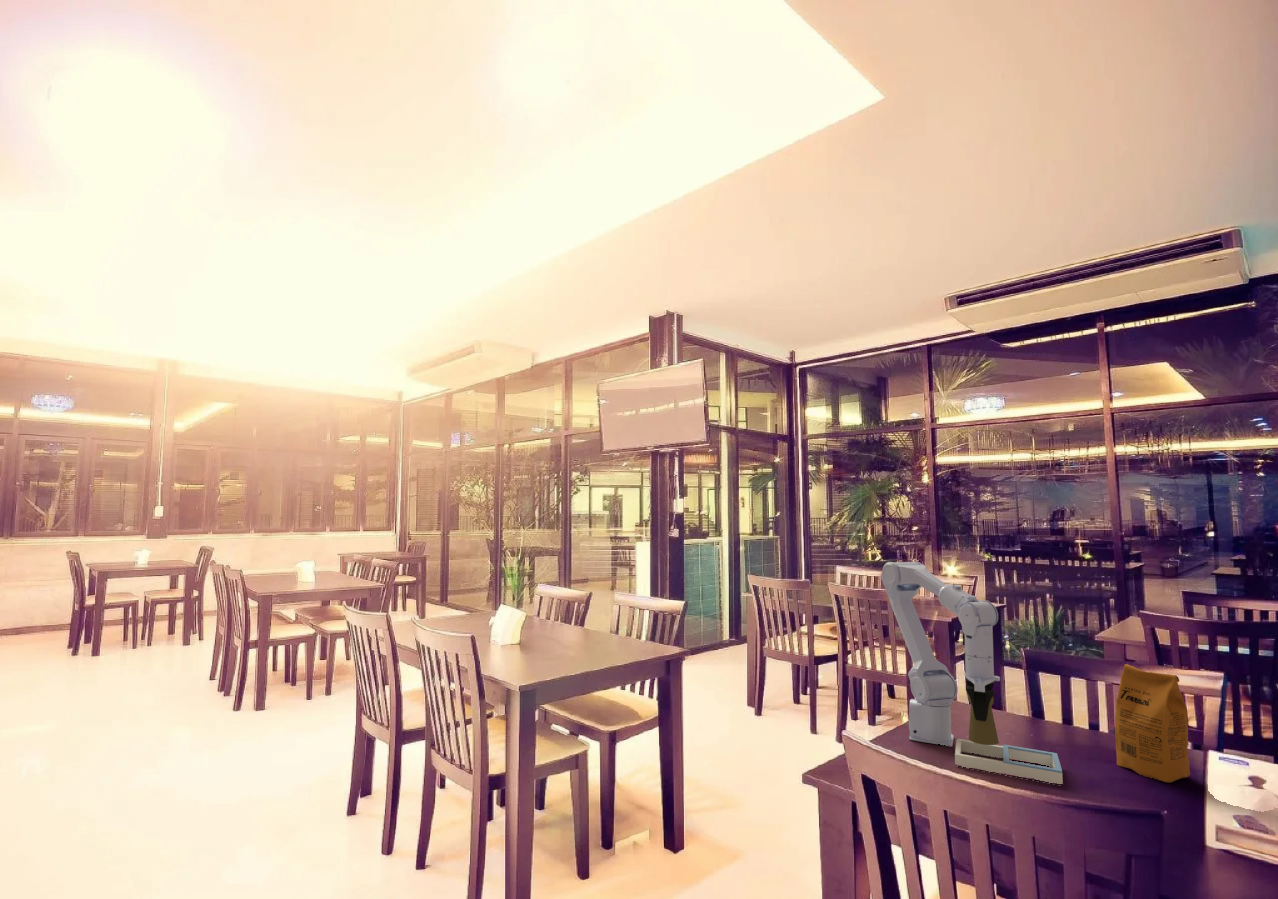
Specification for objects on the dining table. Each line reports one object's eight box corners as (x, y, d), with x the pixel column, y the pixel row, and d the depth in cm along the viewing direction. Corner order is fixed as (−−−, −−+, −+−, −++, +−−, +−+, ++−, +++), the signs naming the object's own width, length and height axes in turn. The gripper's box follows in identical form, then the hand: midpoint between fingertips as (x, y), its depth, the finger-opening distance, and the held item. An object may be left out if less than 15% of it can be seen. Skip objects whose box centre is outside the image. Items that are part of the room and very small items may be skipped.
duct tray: (955, 766, 142) (954, 752, 143) (957, 749, 152) (956, 736, 152) (1062, 785, 133) (1062, 771, 133) (1057, 766, 143) (1056, 753, 143)
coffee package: (1138, 758, 148) (1133, 660, 150) (1199, 780, 136) (1193, 674, 138) (1106, 763, 145) (1102, 663, 147) (1166, 786, 133) (1160, 677, 135)
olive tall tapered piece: (1002, 746, 141) (998, 693, 143) (972, 744, 143) (969, 692, 144) (994, 737, 147) (990, 687, 148) (965, 735, 148) (961, 686, 150)
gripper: (999, 664, 138) (1001, 729, 137) (998, 651, 151) (1000, 710, 150) (963, 660, 142) (964, 723, 141) (964, 647, 154) (966, 705, 153)
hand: (980, 716), depth 146 cm, fingers closed on olive tall tapered piece, 5 cm apart
